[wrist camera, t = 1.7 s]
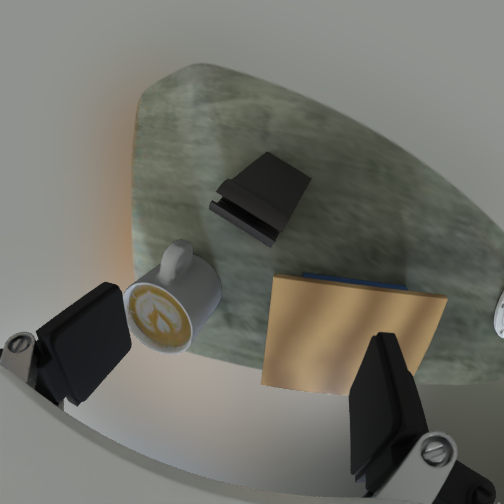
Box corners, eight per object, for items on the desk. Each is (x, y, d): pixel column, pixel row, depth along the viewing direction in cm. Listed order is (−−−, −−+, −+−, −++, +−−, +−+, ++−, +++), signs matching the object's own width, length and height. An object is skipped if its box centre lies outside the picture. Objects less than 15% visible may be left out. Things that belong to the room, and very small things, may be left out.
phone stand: (268, 151, 30) (240, 146, 19) (312, 178, 30) (310, 188, 19) (231, 214, 34) (189, 242, 23) (272, 240, 34) (249, 280, 23)
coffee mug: (208, 325, 40) (180, 367, 31) (153, 293, 41) (116, 326, 32) (243, 253, 35) (216, 287, 26) (178, 218, 36) (134, 239, 26)
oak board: (445, 294, 25) (448, 298, 24) (400, 393, 30) (401, 398, 29) (274, 272, 28) (273, 276, 28) (262, 379, 34) (260, 384, 33)
